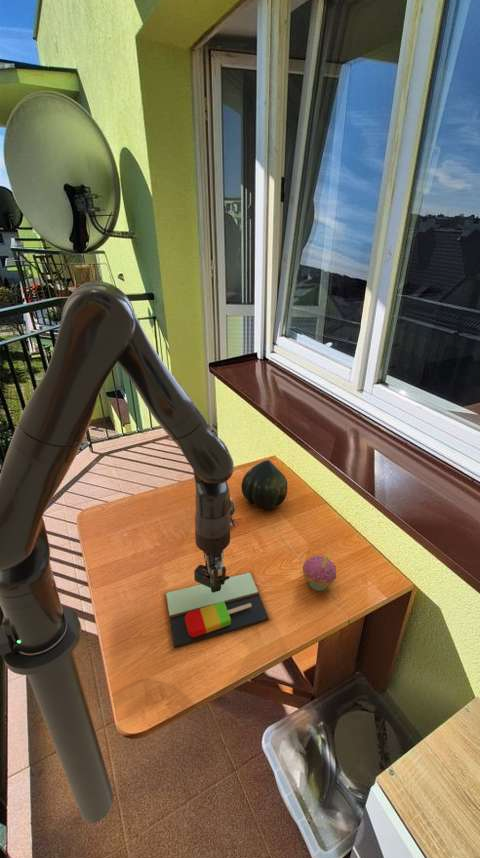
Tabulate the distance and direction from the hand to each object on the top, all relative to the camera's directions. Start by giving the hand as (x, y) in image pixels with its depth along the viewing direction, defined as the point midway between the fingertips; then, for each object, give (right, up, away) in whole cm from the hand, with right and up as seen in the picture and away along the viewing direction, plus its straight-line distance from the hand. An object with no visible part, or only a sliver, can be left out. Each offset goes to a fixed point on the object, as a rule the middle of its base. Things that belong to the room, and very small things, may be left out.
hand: (213, 580), depth 89 cm
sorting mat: (+1, -6, -1) cm, 6 cm away
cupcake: (+25, -4, +8) cm, 27 cm away
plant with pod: (-2, +7, +25) cm, 26 cm away
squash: (+10, +12, +37) cm, 40 cm away
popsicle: (+2, -7, -3) cm, 8 cm away
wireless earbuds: (0, -1, +1) cm, 1 cm away
